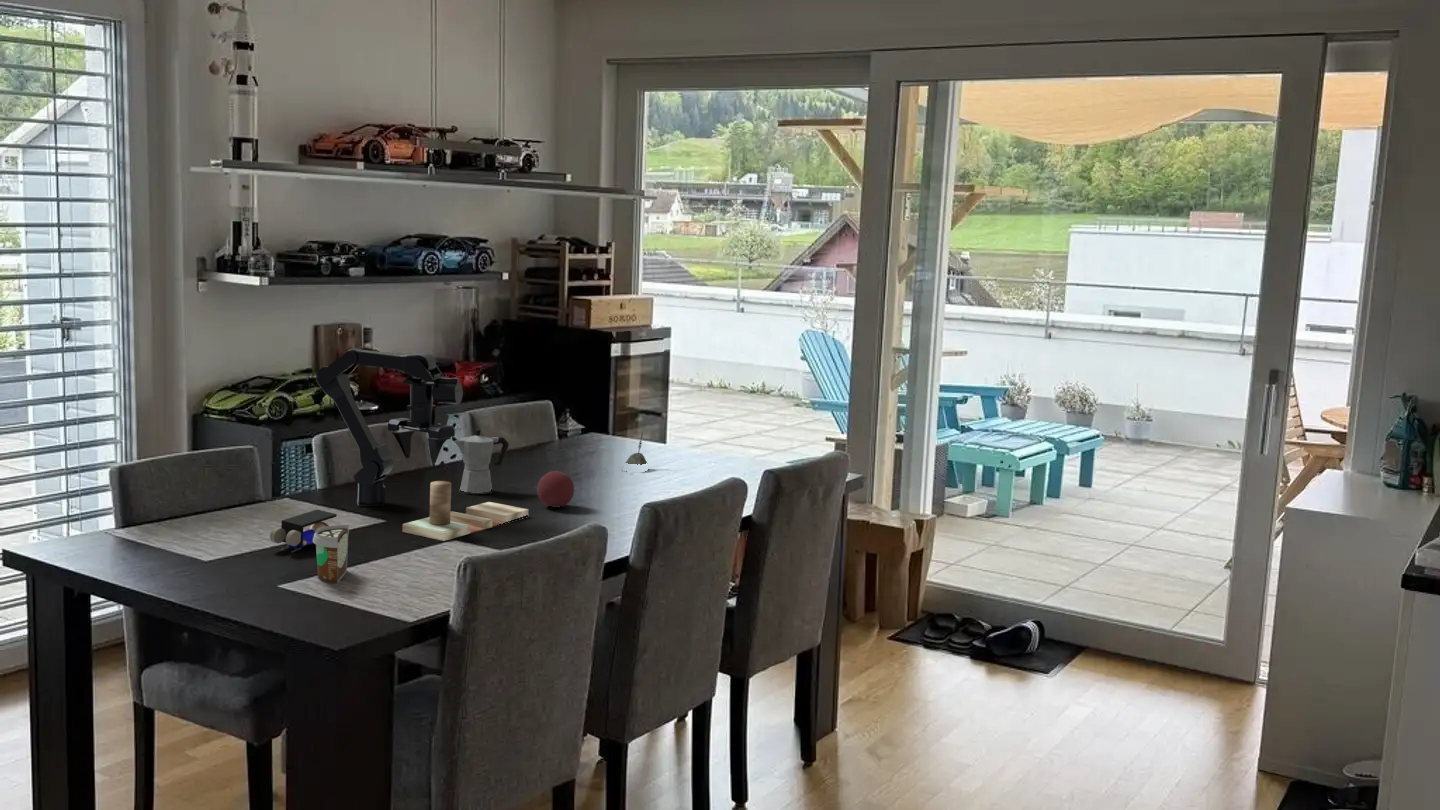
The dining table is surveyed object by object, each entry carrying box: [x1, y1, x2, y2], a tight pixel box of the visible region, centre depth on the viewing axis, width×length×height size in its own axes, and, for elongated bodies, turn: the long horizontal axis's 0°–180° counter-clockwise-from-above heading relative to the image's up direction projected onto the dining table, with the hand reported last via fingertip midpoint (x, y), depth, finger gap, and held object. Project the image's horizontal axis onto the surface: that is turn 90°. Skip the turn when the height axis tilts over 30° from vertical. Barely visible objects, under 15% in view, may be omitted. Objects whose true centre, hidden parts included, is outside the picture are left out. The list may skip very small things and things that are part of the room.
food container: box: [312, 524, 350, 584], centre depth 271 cm, size 12×6×10 cm, turn 5°
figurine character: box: [269, 509, 338, 554], centre depth 293 cm, size 7×8×15 cm
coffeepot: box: [453, 428, 509, 493], centre depth 360 cm, size 15×9×18 cm, turn 113°
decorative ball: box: [536, 470, 575, 507], centre depth 347 cm, size 10×10×10 cm
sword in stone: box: [625, 431, 648, 465], centre depth 405 cm, size 10×8×12 cm
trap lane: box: [402, 501, 529, 542], centre depth 323 cm, size 33×13×2 cm, turn 152°
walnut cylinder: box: [428, 480, 452, 526], centre depth 313 cm, size 5×5×10 cm
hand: (420, 460), depth 335 cm, fingers open, 9 cm apart
